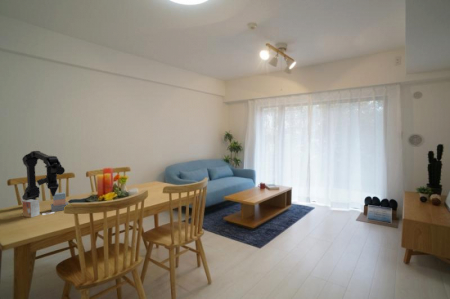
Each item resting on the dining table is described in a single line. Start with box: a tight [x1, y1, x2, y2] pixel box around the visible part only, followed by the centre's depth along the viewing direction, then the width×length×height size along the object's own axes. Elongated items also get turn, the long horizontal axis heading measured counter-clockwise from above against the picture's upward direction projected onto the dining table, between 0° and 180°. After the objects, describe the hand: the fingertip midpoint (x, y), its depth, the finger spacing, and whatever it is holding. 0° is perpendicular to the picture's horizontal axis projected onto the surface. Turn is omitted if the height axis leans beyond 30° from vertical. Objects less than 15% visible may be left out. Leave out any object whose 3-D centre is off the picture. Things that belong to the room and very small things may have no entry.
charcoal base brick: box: [50, 201, 69, 212], centre depth 170 cm, size 8×10×4 cm
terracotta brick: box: [52, 199, 67, 206], centre depth 169 cm, size 5×7×4 cm
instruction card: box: [41, 211, 55, 216], centre depth 161 cm, size 5×7×1 cm
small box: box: [22, 199, 40, 218], centre depth 157 cm, size 8×6×10 cm
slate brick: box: [52, 191, 66, 201], centre depth 169 cm, size 5×7×4 cm
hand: (52, 194), depth 167 cm, fingers open, 9 cm apart
